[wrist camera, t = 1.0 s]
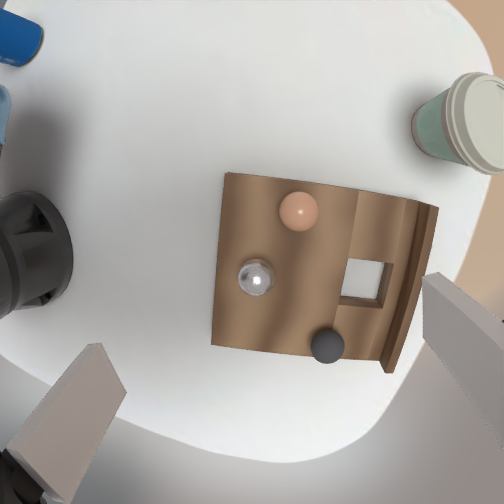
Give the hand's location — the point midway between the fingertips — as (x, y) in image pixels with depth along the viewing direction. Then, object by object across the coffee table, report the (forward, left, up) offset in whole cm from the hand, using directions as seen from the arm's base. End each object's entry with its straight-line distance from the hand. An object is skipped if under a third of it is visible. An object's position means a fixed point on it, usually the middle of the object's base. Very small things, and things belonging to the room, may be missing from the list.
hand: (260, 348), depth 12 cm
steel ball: (-1, -4, -18) cm, 18 cm away
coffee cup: (+16, +13, -22) cm, 30 cm away
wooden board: (+5, -4, -22) cm, 23 cm away
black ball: (+7, -10, -18) cm, 22 cm away
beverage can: (-35, +22, -22) cm, 47 cm away
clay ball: (+2, +3, -18) cm, 18 cm away
